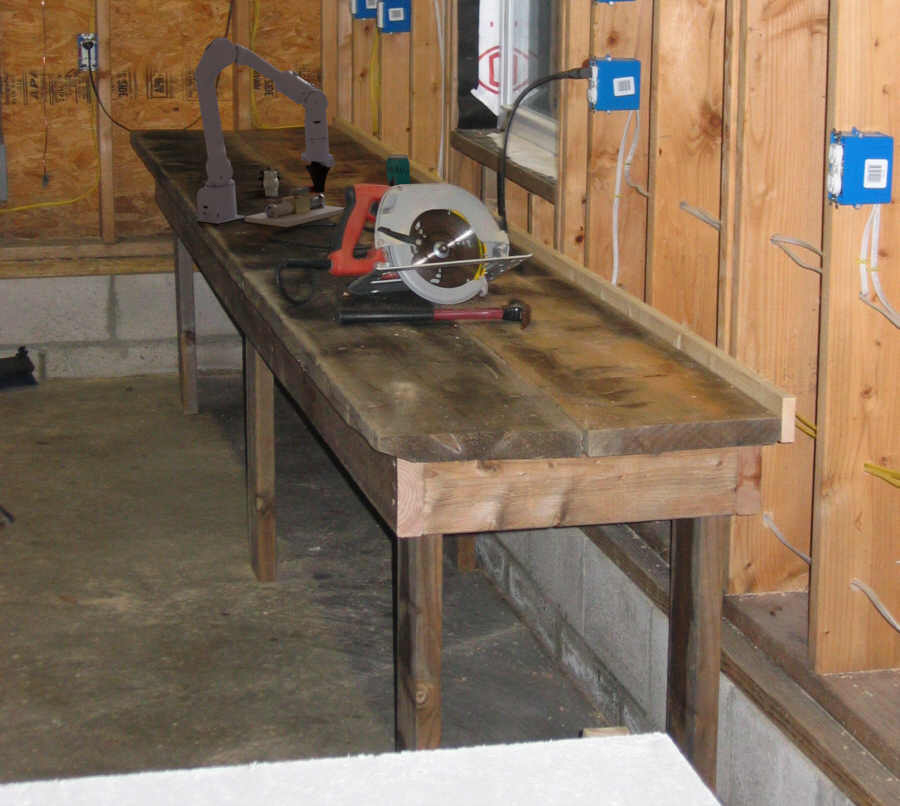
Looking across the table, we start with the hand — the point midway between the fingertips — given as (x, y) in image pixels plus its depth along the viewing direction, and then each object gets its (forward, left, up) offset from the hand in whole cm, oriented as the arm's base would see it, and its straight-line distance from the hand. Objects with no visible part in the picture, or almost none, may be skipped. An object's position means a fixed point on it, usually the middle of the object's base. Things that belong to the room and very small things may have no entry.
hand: (319, 192), depth 358 cm
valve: (+17, +34, -6) cm, 38 cm away
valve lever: (-3, +2, 0) cm, 3 cm away
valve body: (-6, +2, -5) cm, 9 cm away
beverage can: (+8, -20, -6) cm, 22 cm away
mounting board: (-6, +2, -5) cm, 9 cm away
